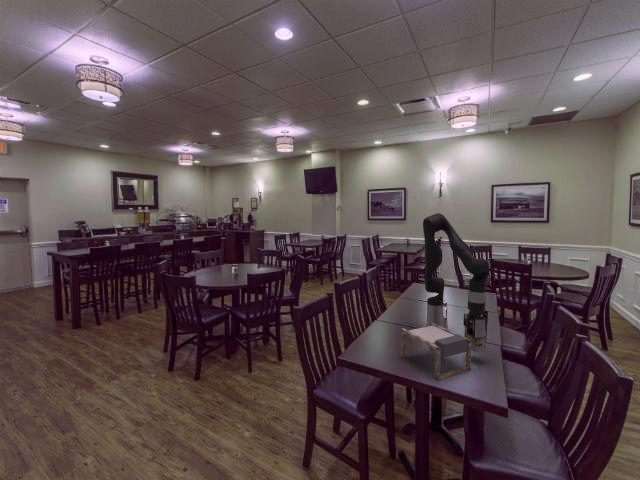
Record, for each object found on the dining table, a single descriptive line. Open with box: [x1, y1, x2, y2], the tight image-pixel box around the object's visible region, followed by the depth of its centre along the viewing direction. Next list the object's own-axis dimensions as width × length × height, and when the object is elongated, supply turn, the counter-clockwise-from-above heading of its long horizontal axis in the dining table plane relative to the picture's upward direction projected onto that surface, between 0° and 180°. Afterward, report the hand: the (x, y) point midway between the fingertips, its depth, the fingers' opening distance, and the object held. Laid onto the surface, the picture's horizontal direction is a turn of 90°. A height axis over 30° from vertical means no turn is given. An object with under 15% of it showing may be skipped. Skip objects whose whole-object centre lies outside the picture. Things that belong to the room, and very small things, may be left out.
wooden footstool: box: [400, 323, 472, 381], centre depth 146 cm, size 24×20×14 cm
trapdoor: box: [408, 326, 467, 359], centre depth 144 cm, size 22×16×6 cm
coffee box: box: [463, 317, 488, 353], centre depth 147 cm, size 9×6×16 cm
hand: (475, 333), depth 147 cm, fingers closed on coffee box, 7 cm apart
